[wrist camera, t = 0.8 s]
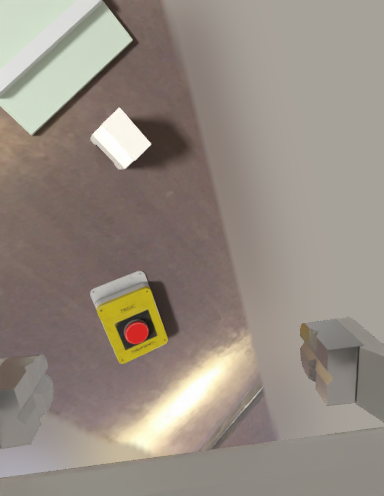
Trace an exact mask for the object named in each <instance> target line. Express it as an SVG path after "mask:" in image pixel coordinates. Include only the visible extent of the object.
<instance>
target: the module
mask: <svg viewBox="0 0 384 496" xmlns="http://www.w3.org/2000/svg"><path fill="white" fill-rule="evenodd" d="M90 140H91V141H92V142H93V143H94V144H95V145H97V146H98V147H99V148H100V149H101V150H102V151H103V152H104V153H105V154H106V155H107V156H108V157H109V158H110V159H111V160H112V161H113V162H114V163H115V164H114V165H115V166H116V167H117V168H118V169H126V168H127V167H128V166H129V165H130V164H131V163H132V162H133V161H135V160H136V159H137V158H138V157H139V156H140V155H141V154H142V153H143V152H144V151H145V150H146V149H147V148H148V147H149V146H150V145H151V143H150V142H149V141H148V140H147V138H146V137H145V136H144V135H143V134H142V133H141V131H140V130H139V129H138V128H137V127H136V126H135V125H134V123H133V122H132V121H131V120H130V119H129V118H128V117H127V115H126V114H125V113H124V112H123V111H122V110H121V108H120V107H119V108H118V109H117V110H116V111H115V112H114V113H113V114H112V115H111V116H110V117H109V118H108V119H107V120H106V121H105V122H104V123H103V124H102V125H101V126H100V127H99V128H98V129H97V130H96V131H95V132H94V133H93V134H92V136H91V139H90Z"/></svg>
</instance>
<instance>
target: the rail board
mask: <svg viewBox="0 0 384 496" xmlns="http://www.w3.org/2000/svg"><path fill="white" fill-rule="evenodd" d="M132 40H133V39H132V38H131V37H130V36H129V34H128V33H127V32H126V30H125V29H124V28H123V26H122V25H121V24H120V22H119V21H118V20H117V19H116V17H115V16H114V15H113V13H112V12H111V11H110V9H109V8H108V7H107V5H106V4H105V3H104V2H103V0H1V1H0V106H1V107H2V108H3V109H4V110H5V111H6V112H7V113H8V114H9V115H11V116H12V117H13V118H14V119H15V120H16V121H17V122H18V123H19V124H20V125H21V126H22V127H23V128H24V129H25V130H26V131H27V132H29V133H30V134H31V135H32V136H33V135H34V134H35V133H36V132H37V131H38V130H39V129H40V128H41V127H42V126H43V125H44V124H45V123H46V122H47V121H49V120H50V119H51V118H52V117H53V116H54V115H55V114H56V113H57V112H58V111H59V110H60V109H61V108H62V107H63V106H64V105H66V104H67V103H68V102H69V101H70V100H71V99H72V98H73V97H74V96H75V95H76V94H77V93H78V92H79V91H80V90H82V89H83V88H84V87H85V86H86V85H87V84H88V83H89V82H90V81H91V80H92V79H93V78H94V77H95V76H96V75H97V74H99V73H100V72H101V71H102V70H103V69H104V68H105V67H106V66H107V65H108V64H109V63H110V62H111V61H112V60H113V59H114V58H116V57H117V56H118V55H119V54H120V53H121V52H122V51H123V50H124V49H125V48H126V47H127V46H128V45H129V44H130V43H131V42H132Z"/></svg>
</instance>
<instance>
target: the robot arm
mask: <svg viewBox="0 0 384 496" xmlns="http://www.w3.org/2000/svg"><path fill="white" fill-rule="evenodd" d="M300 336H301V337H302V339H303V340H304V341H305V342H304V344H303V345H302V347H301V348H300V350H301V361H302V365H303V368H304V370H305V373H306V375H307V376H308V378H309V379H311V380H312V381H314V382H316V390H317V392H318V393H319V395H320V396H321V398H322V399H323V401H324V402H325V404H326V406H331V405H341V404H351V403H356V404H357V405H358V406H360V407H361V408H363V409H364V410H366V411H367V412H369V413H370V414H372V415H373V416H375V417H376V418H378V419H380V420H381V421H382V422H384V344H382V343H381V342H380V341H379V340H378V339H376V338H375V337H374V336H373V335H371V334H370V333H369V332H368V331H367V330H366V329H364V328H363V327H362V326H361V325H360V324H358V323H357V322H356V321H355V320H354V319H352V318H350V317H343V318H337V319H330V320H323V321H317V322H310V323H304V324H302V325H301V329H300ZM47 368H48V365H47V361H46V358H45V357H44V356H43V355H33V356H23V357H13V358H3V359H0V449H5V448H11V447H17V446H24V445H30V444H31V443H32V441H33V439H34V437H35V435H36V433H37V432H38V430H39V428H40V426H41V422H40V418H41V417H42V416H43V415H44V414H46V413H47V412H48V410H49V408H50V406H51V404H52V399H53V384H52V379H51V378H50V377H49V376H47V375H46V374H45V372H46V370H47ZM0 496H384V427H379V428H372V429H364V430H357V431H350V432H342V433H334V434H327V435H320V436H312V437H305V438H297V439H289V440H282V441H274V442H267V443H259V444H252V445H244V446H237V447H229V448H222V449H214V450H207V451H199V452H192V453H184V454H176V455H169V456H161V457H154V458H146V459H139V460H131V461H124V462H116V463H109V464H101V465H94V466H87V467H79V468H71V469H64V470H56V471H48V472H41V473H33V474H27V475H19V476H11V477H3V478H0Z"/></svg>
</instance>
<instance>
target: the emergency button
mask: <svg viewBox="0 0 384 496" xmlns="http://www.w3.org/2000/svg"><path fill="white" fill-rule="evenodd" d="M90 294H91V298H92V300H93V303H94V305H95V307H96V310H97V313H98V315H99V317H100V320H101V322H102V324H103V327H104V329H105V331H106V334H107V336H108V338H109V341H110V343H111V345H112V348H113V350H114V352H115V355H116V357H117V359H118V361H119V362H120V363H122V364H123V363H126V362H128V361H131V360H133V359H135V358H137V357H139V356H141V355H143V354H146V353H148V352H150V351H152V350H154V349H156V348H158V347H160V346H163V345H165V344H166V343H167V341H168V338H167V335H166V332H165V329H164V326H163V323H162V321H161V318H160V315H159V312H158V309H157V306H156V303H155V301H154V298H153V295H152V292H151V289H150V287H149V284H148V281H147V278H146V276H145V274H144V272H142V271H137V272H134V273H131V274H129V275H126V276H124V277H121V278H119V279H116V280H113V281H111V282H108V283H106V284H103V285H101V286H98V287H95V288H93V289H92V290H91V293H90Z"/></svg>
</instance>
